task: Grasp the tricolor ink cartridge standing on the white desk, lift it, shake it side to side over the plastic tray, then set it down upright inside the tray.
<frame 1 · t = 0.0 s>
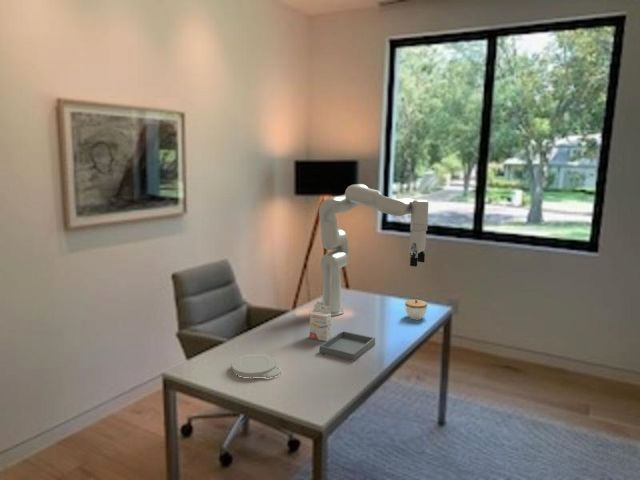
hand: (417, 264, 222), 31 cm above the table, tool pointing down, fingers open, 9 cm apart
tray: (347, 348, 204), on the table
lid: (257, 371, 184), on the table
lidded jar: (415, 317, 242), on the table
ink cartridge box: (320, 338, 216), on the table
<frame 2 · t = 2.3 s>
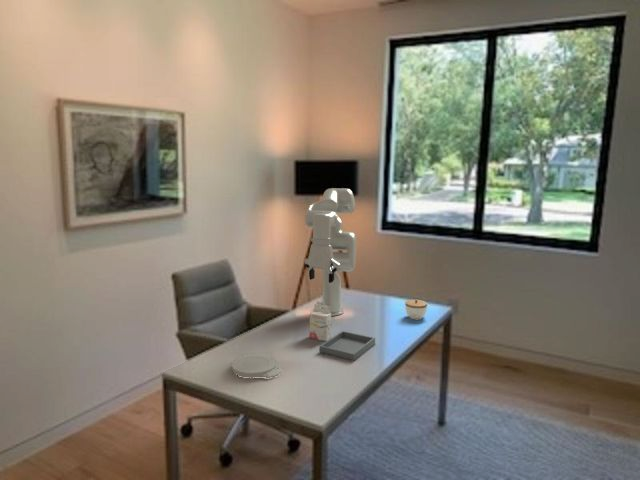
hand: (321, 280, 211), 26 cm above the table, tool pointing down, fingers open, 9 cm apart
nothing on the table moved.
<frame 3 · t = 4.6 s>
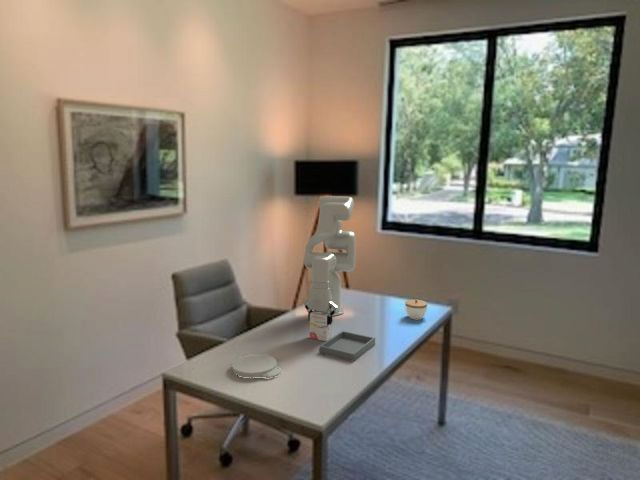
hand: (320, 322, 214), 7 cm above the table, tool pointing down, fingers closed on ink cartridge box, 9 cm apart
ink cartridge box: (320, 338, 216), on the table, touching gripper
everything else where it was.
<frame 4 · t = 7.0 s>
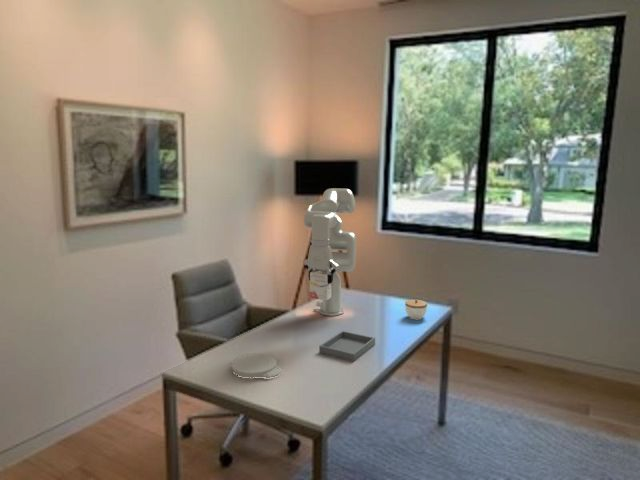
hand: (320, 281, 211), 26 cm above the table, tool pointing down, fingers closed on ink cartridge box, 9 cm apart
ink cartridge box: (320, 298, 213), point 18 cm above the table, touching gripper
everything else where it was.
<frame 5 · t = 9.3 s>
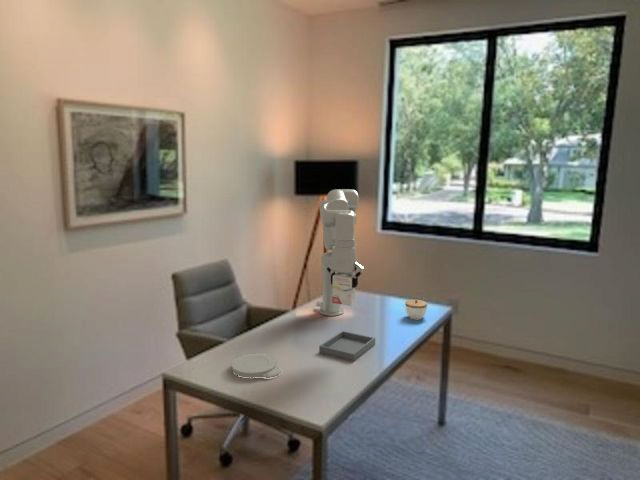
hand: (343, 285, 195), 29 cm above the table, tool pointing down, fingers closed on ink cartridge box, 9 cm apart
ink cartridge box: (343, 303, 197), point 21 cm above the table, touching gripper
everything else where it was.
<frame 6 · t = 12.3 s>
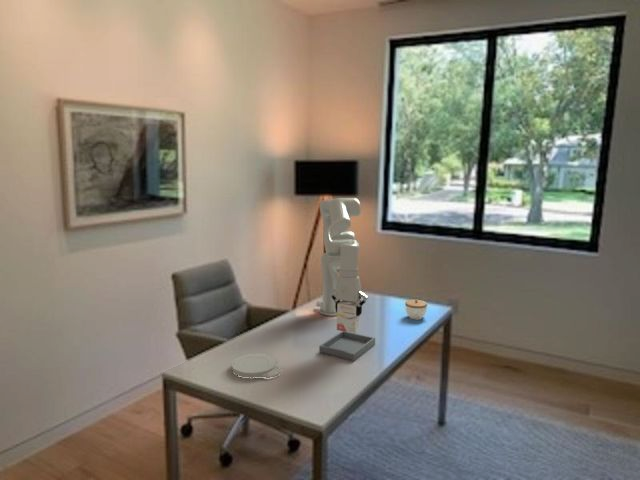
hand: (348, 313, 201), 16 cm above the table, tool pointing down, fingers closed on ink cartridge box, 9 cm apart
ink cartridge box: (348, 330, 203), point 8 cm above the table, touching gripper
everything else where it was.
when the fingers open (9 cm above the table, at t = 14.4 s): ink cartridge box stays where it is, resting on tray.
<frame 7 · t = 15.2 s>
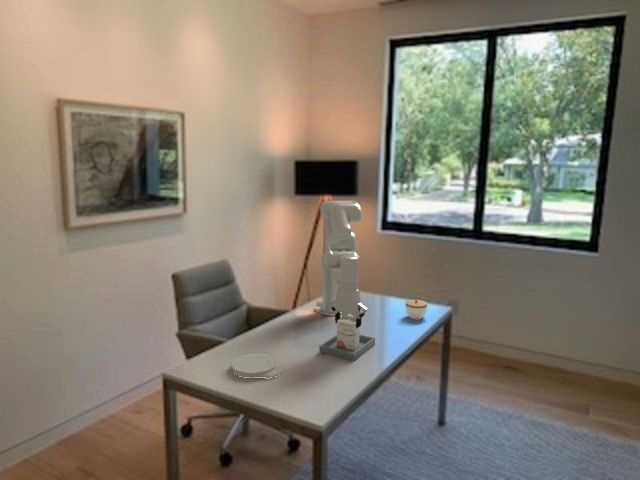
hand: (348, 324, 203), 10 cm above the table, tool pointing down, fingers open, 9 cm apart
ink cartridge box: (348, 347, 204), resting on tray, touching gripper
everything else where it was.
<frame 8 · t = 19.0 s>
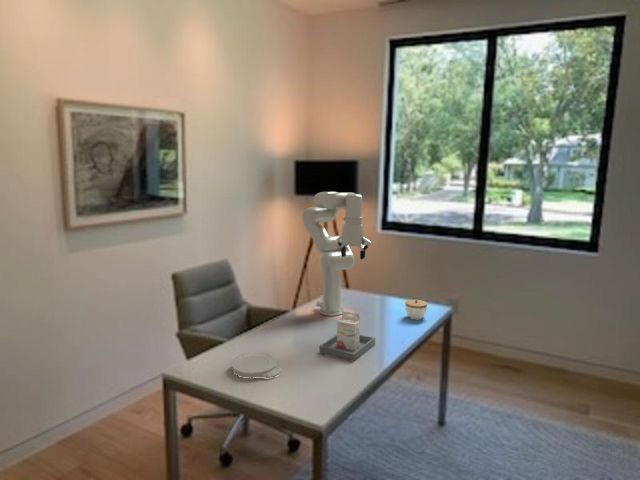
hand: (352, 257, 225), 33 cm above the table, tool pointing down, fingers open, 9 cm apart
ink cartridge box: (348, 347, 204), resting on tray
everything else where it was.
at the end: ink cartridge box inside the target area on the tray (0.2 cm from its centre), point 0.4 cm above the tray's base; ink cartridge box tilted 0°; the gripper is holding nothing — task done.
